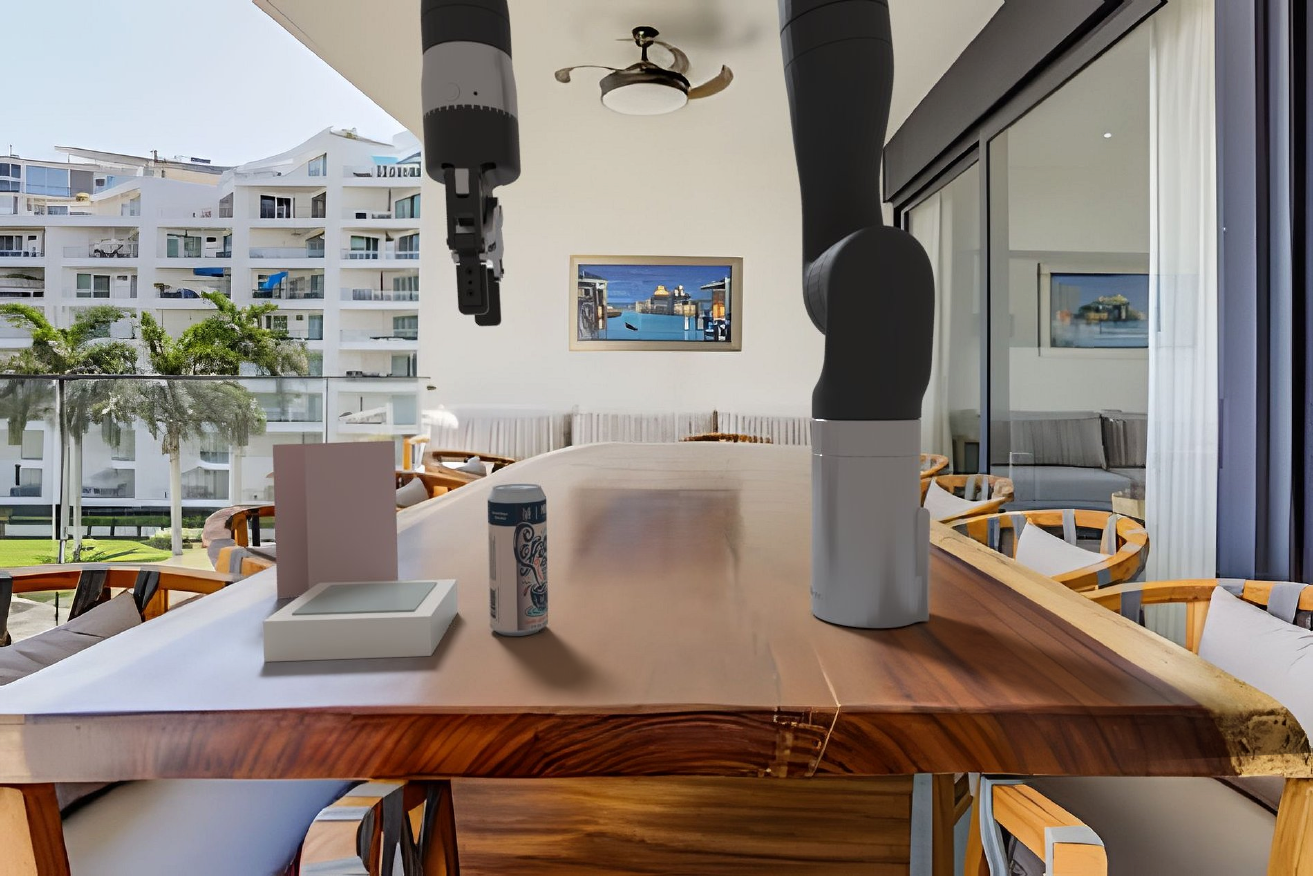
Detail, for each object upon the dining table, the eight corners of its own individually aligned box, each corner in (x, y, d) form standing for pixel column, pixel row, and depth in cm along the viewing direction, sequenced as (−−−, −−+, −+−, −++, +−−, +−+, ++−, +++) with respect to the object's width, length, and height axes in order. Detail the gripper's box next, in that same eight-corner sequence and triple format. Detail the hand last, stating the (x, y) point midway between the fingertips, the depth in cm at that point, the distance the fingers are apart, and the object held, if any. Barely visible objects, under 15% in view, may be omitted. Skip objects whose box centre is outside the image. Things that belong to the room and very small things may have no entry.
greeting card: (396, 581, 81) (392, 440, 81) (413, 596, 75) (410, 443, 74) (276, 596, 76) (271, 444, 75) (284, 614, 69) (279, 447, 68)
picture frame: (457, 612, 69) (457, 577, 69) (431, 655, 57) (430, 614, 57) (320, 616, 68) (319, 581, 68) (264, 661, 56) (262, 619, 56)
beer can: (536, 640, 61) (533, 490, 61) (480, 636, 62) (477, 489, 62) (555, 622, 66) (554, 483, 65) (503, 620, 67) (501, 482, 66)
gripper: (509, 81, 55) (520, 308, 56) (525, 146, 69) (534, 327, 70) (402, 82, 54) (415, 312, 55) (440, 147, 69) (450, 330, 69)
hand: (481, 320), depth 63 cm, fingers open, 8 cm apart
